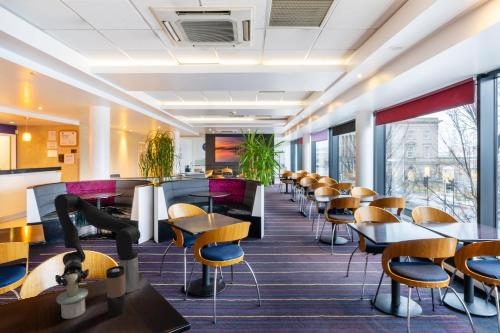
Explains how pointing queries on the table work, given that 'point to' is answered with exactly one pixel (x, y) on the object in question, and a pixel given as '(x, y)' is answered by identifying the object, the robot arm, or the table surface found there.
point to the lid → (72, 291)
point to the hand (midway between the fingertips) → (71, 283)
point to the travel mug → (115, 290)
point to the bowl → (73, 309)
